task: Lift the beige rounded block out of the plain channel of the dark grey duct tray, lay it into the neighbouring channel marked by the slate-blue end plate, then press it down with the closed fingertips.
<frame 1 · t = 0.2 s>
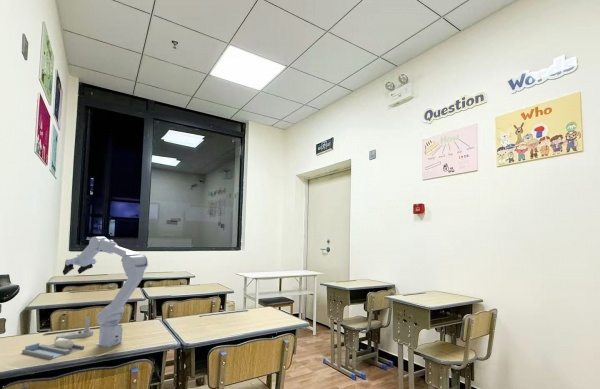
hand: (71, 272, 167), 31 cm above the table, tool tilted 45°, fingers open, 7 cm apart
duct tray: (53, 352, 142), on the table
beige rounded block: (63, 348, 145), point 1 cm above the table, touching duct tray
electronic device: (74, 338, 162), on the table
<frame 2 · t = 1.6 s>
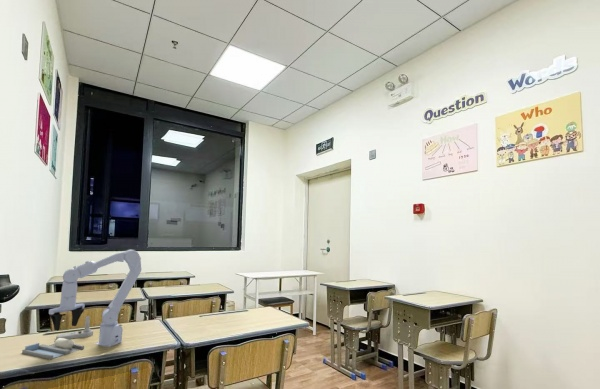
hand: (65, 327, 146), 9 cm above the table, tool pointing down, fingers open, 7 cm apart
nothing on the table moved.
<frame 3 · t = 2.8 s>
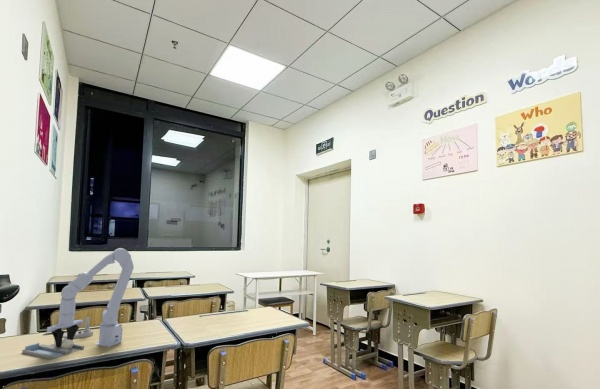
hand: (63, 345, 145), 2 cm above the table, tool pointing down, fingers closed on beige rounded block, 4 cm apart
beige rounded block: (63, 348, 145), point 1 cm above the table, touching duct tray, gripper
everything else where it was.
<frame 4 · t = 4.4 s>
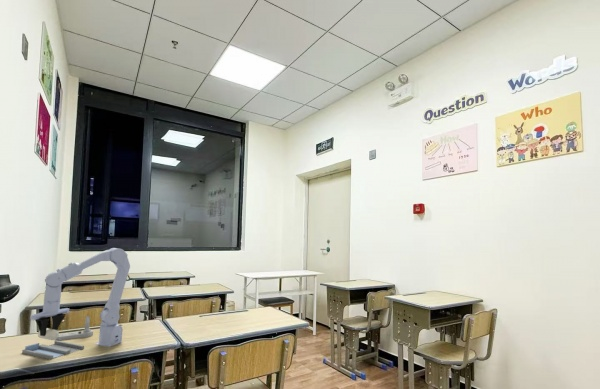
hand: (48, 334, 140), 8 cm above the table, tool pointing down, fingers closed on beige rounded block, 4 cm apart
beige rounded block: (47, 339, 139), point 7 cm above the table, touching gripper
everything else where it was.
when the fingers open (3 cm above the table, at t = 6.0 s): beige rounded block stays where it is, resting on duct tray.
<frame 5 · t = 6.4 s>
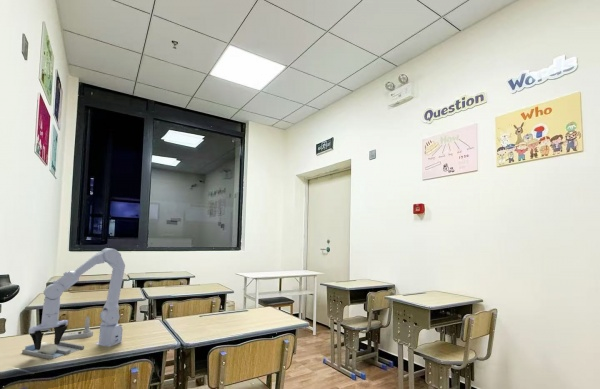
hand: (47, 346, 139), 3 cm above the table, tool pointing down, fingers open, 7 cm apart
beige rounded block: (46, 353, 139), point 1 cm above the table, touching duct tray
everything else where it was.
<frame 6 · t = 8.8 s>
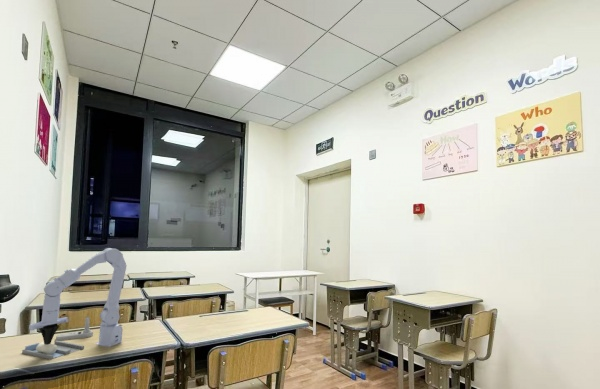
hand: (47, 343, 139), 5 cm above the table, tool pointing down, fingers closed, pressing on beige rounded block
beige rounded block: (45, 353, 139), point 1 cm above the table, touching duct tray, gripper
everything else where it was.
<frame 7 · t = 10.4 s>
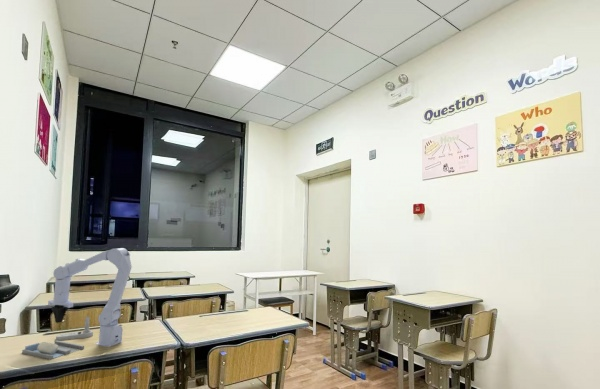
hand: (58, 322, 153), 10 cm above the table, tool pointing down, fingers closed
beige rounded block: (45, 353, 139), point 1 cm above the table, tilted 19°, touching duct tray
everything else where it was.
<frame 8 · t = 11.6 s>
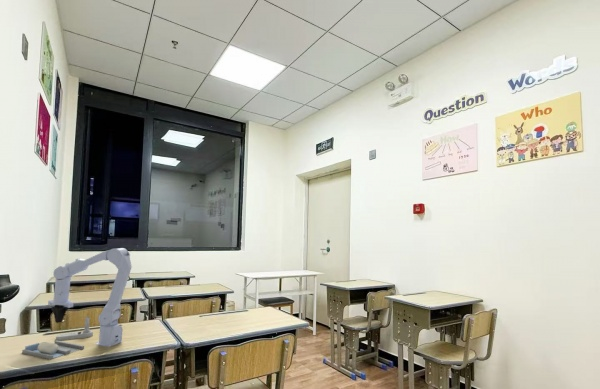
hand: (58, 322, 153), 10 cm above the table, tool pointing down, fingers closed
nothing on the table moved.
at the end: beige rounded block inside the target area on the duct tray (0.5 cm from its centre), point 0.9 cm above the duct tray's base; the gripper is holding nothing; beige rounded block moved 7.1 cm from its start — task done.
